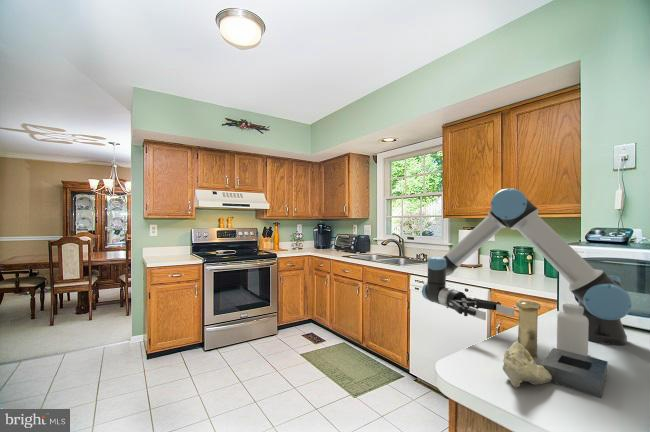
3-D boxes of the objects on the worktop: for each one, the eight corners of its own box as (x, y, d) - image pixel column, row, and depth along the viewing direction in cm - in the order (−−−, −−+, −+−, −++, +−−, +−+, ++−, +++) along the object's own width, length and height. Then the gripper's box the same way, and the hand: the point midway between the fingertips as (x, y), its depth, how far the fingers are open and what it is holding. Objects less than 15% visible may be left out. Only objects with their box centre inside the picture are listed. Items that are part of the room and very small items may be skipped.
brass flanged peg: (527, 349, 102) (528, 300, 103) (545, 357, 96) (545, 305, 96) (510, 350, 101) (511, 300, 101) (527, 359, 95) (528, 305, 95)
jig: (553, 361, 94) (553, 347, 94) (607, 376, 85) (607, 361, 85) (540, 378, 83) (540, 363, 83) (601, 398, 74) (601, 381, 74)
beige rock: (525, 376, 88) (482, 339, 90) (548, 363, 85) (502, 325, 86) (538, 424, 74) (487, 379, 76) (566, 410, 71) (512, 364, 73)
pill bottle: (594, 359, 96) (594, 309, 96) (564, 356, 98) (565, 307, 98) (579, 349, 104) (579, 303, 104) (551, 346, 106) (552, 301, 106)
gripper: (475, 306, 132) (524, 322, 112) (427, 310, 123) (471, 328, 103) (476, 288, 132) (524, 301, 113) (428, 291, 123) (472, 305, 103)
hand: (499, 314), depth 108 cm, fingers open, 13 cm apart
